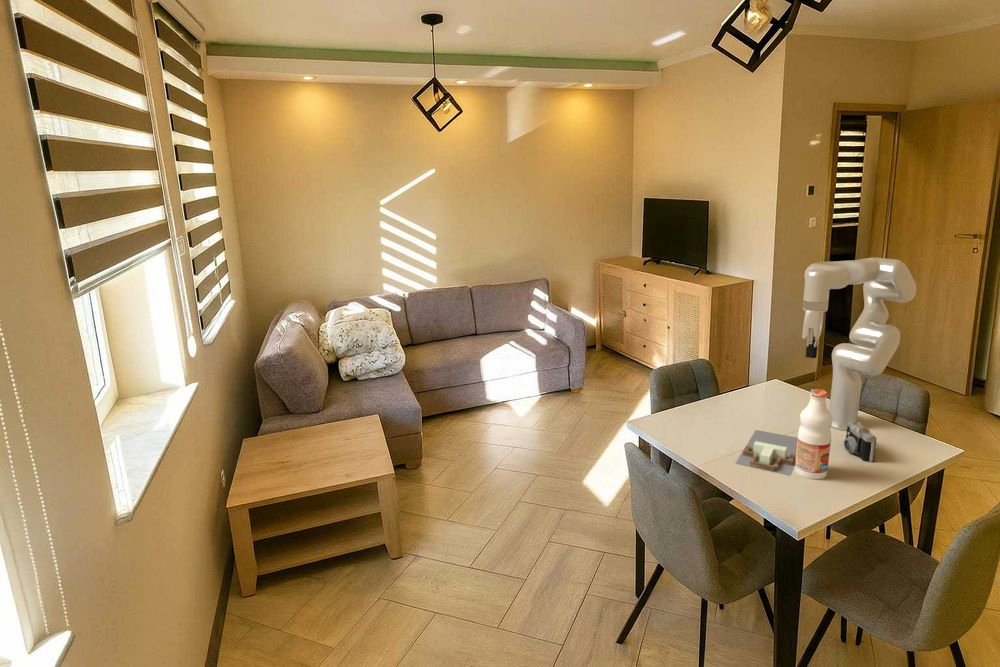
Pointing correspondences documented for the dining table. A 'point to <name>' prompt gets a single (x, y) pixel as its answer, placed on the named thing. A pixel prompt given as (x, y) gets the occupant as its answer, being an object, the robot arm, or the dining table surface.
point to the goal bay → (766, 466)
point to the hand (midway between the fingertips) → (811, 357)
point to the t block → (769, 452)
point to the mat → (775, 440)
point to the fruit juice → (814, 438)
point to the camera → (860, 442)
